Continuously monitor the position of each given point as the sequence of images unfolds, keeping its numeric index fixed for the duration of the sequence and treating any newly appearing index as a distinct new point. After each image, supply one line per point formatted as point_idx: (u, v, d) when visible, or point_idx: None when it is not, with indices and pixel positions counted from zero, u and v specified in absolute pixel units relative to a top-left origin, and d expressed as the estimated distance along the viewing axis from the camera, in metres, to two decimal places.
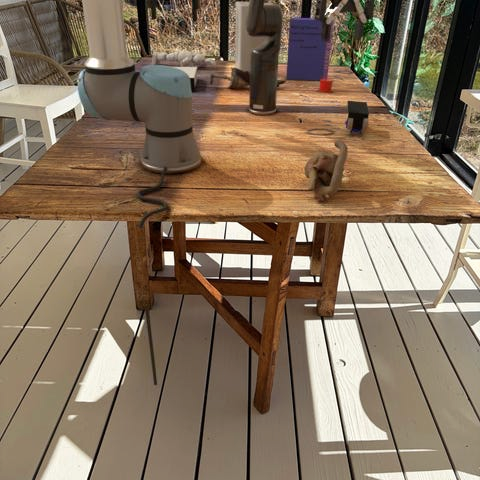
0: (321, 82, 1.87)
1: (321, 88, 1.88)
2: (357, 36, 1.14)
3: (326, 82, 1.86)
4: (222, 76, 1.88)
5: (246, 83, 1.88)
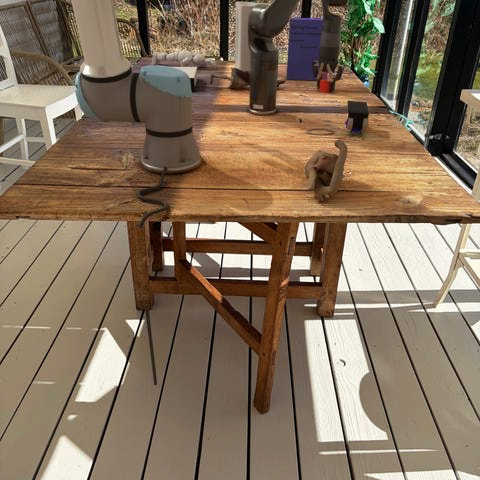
0: (321, 82, 1.87)
1: (321, 88, 1.88)
2: None
3: (326, 82, 1.86)
4: (222, 76, 1.88)
5: (246, 83, 1.88)
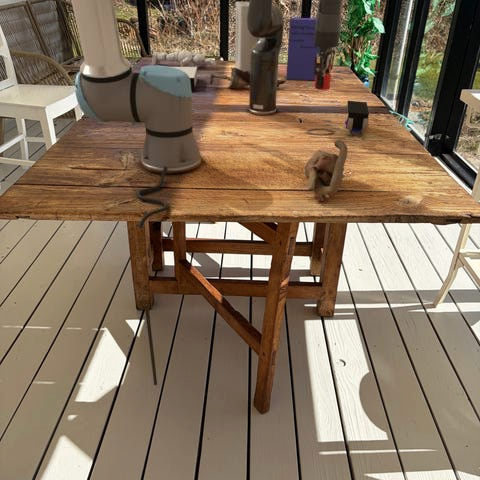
0: None
1: None
2: None
3: None
4: (222, 76, 1.88)
5: (246, 83, 1.88)
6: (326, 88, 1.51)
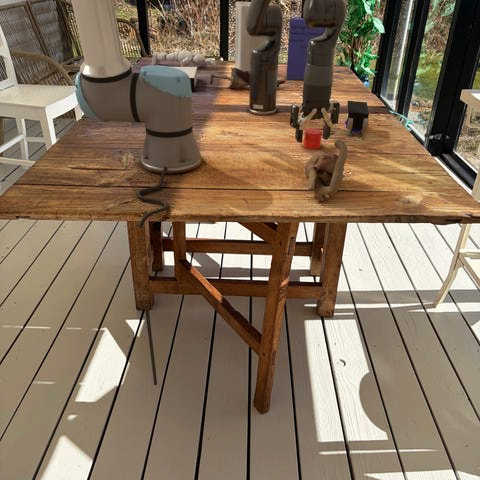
0: None
1: None
2: None
3: None
4: (222, 76, 1.88)
5: (246, 83, 1.88)
6: (310, 147, 1.33)
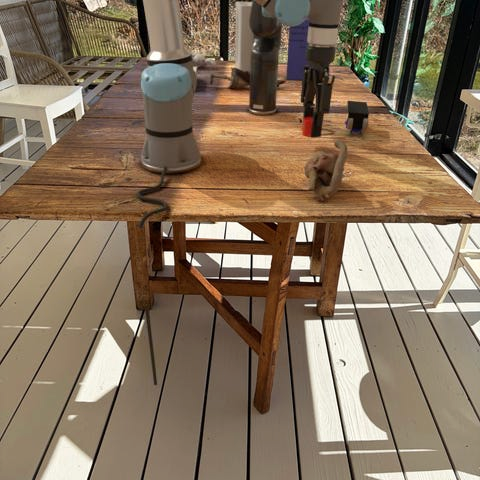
0: None
1: None
2: None
3: None
4: (222, 76, 1.88)
5: (246, 83, 1.88)
6: (309, 135, 1.31)
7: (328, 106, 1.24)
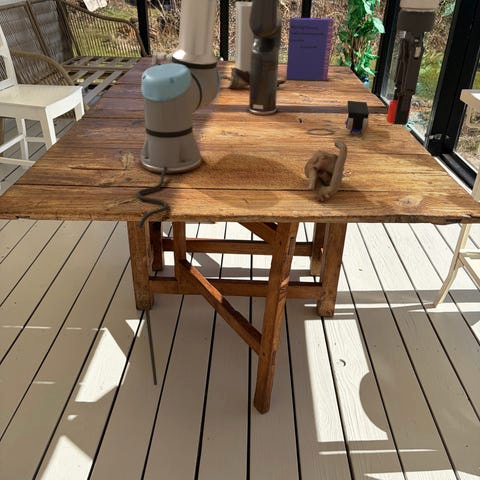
0: None
1: None
2: None
3: None
4: (222, 76, 1.88)
5: (246, 83, 1.88)
6: (392, 121, 1.09)
7: (414, 86, 1.01)
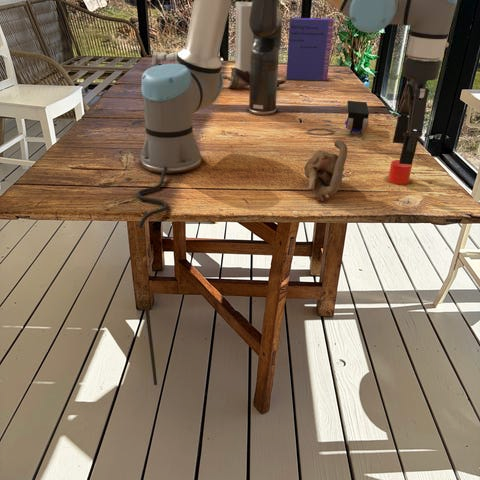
0: None
1: None
2: None
3: None
4: None
5: (246, 83, 1.88)
6: (393, 181, 1.14)
7: (420, 126, 0.99)
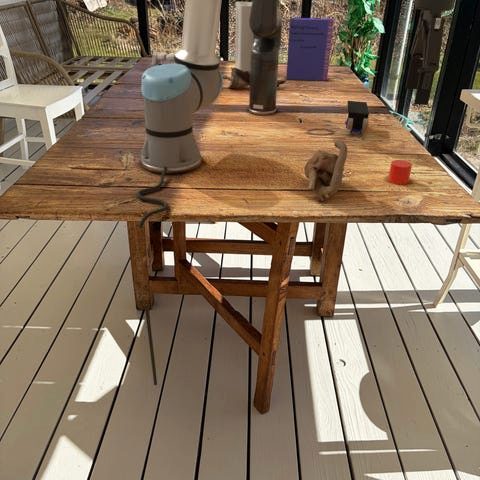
0: None
1: None
2: None
3: None
4: (222, 76, 1.88)
5: (246, 83, 1.88)
6: (393, 181, 1.14)
7: (436, 59, 0.92)
